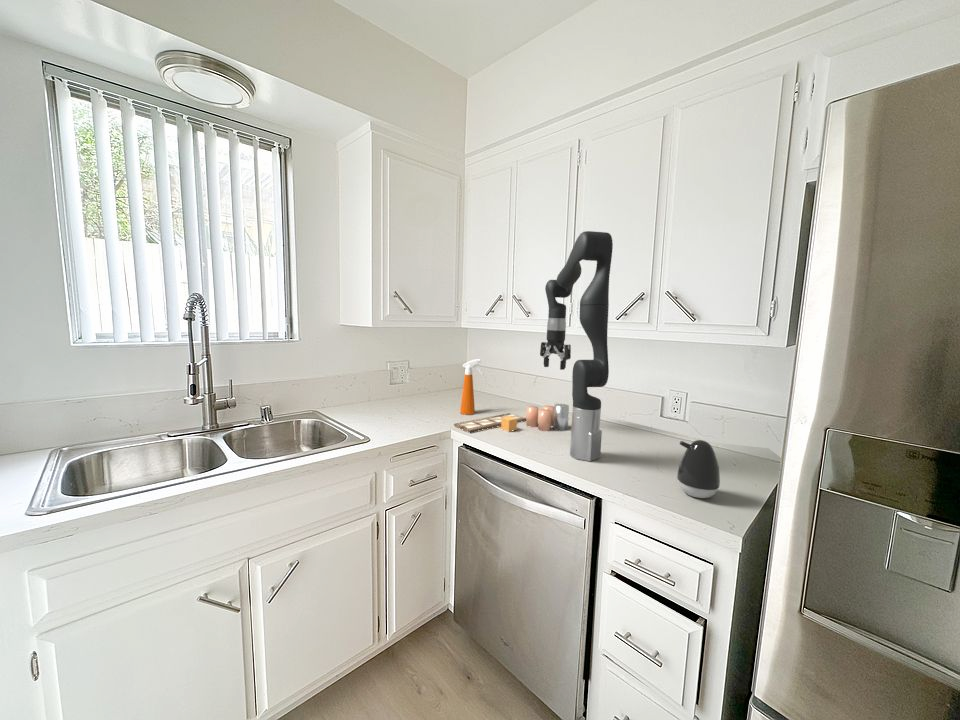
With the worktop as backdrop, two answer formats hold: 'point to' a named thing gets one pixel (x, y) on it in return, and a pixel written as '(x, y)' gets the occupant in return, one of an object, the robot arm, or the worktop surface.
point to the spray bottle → (469, 388)
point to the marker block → (508, 423)
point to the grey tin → (561, 416)
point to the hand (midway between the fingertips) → (554, 368)
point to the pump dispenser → (699, 470)
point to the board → (485, 422)
